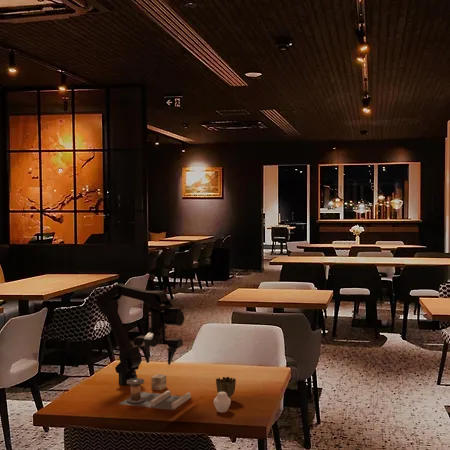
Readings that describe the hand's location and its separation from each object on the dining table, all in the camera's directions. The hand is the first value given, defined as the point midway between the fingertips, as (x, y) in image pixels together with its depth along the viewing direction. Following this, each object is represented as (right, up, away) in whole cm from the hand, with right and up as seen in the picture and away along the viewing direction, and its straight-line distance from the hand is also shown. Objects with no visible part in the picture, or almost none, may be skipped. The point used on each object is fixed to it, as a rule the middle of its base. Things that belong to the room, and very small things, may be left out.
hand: (158, 363), depth 251 cm
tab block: (0, -11, 0) cm, 11 cm away
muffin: (+25, -12, -25) cm, 37 cm away
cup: (+26, -11, -13) cm, 31 cm away
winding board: (+1, -11, -16) cm, 19 cm away
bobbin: (-7, -10, -16) cm, 20 cm away
